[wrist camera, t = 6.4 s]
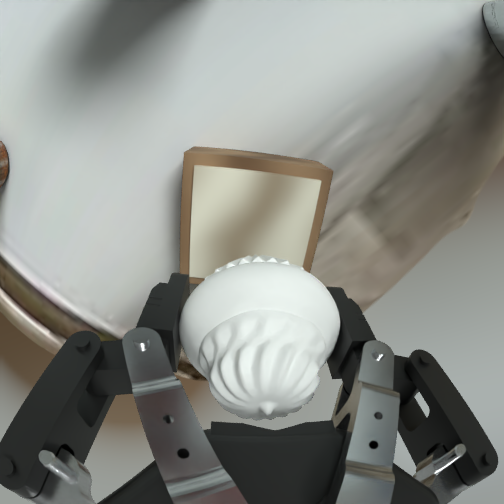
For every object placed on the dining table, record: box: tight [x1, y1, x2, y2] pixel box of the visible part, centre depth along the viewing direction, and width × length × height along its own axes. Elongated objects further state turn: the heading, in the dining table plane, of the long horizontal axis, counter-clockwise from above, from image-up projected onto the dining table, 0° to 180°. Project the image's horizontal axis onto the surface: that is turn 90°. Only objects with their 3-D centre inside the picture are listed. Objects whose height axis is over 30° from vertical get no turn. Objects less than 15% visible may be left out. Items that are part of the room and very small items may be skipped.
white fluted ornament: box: [179, 255, 340, 420], centre depth 10 cm, size 6×6×7 cm
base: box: [180, 147, 333, 284], centre depth 21 cm, size 10×10×4 cm
